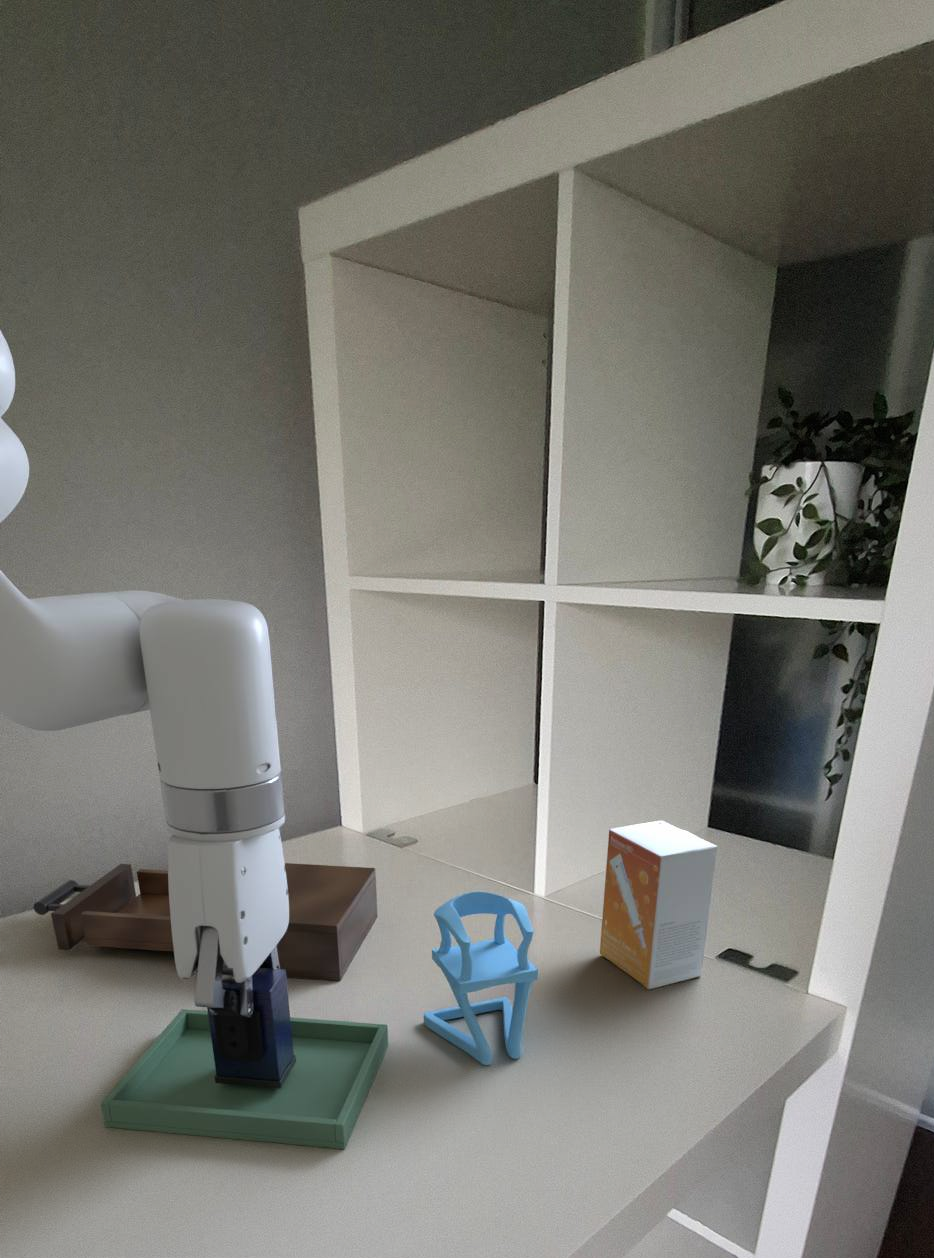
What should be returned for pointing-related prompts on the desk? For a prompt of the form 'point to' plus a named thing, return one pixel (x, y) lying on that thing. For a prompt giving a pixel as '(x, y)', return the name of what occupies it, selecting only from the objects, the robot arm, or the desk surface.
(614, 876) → the small box
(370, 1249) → the desk surface
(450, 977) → the chair
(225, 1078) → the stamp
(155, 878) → the drawer
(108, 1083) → the desk surface
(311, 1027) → the tray
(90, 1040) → the desk surface
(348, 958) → the cabinet
